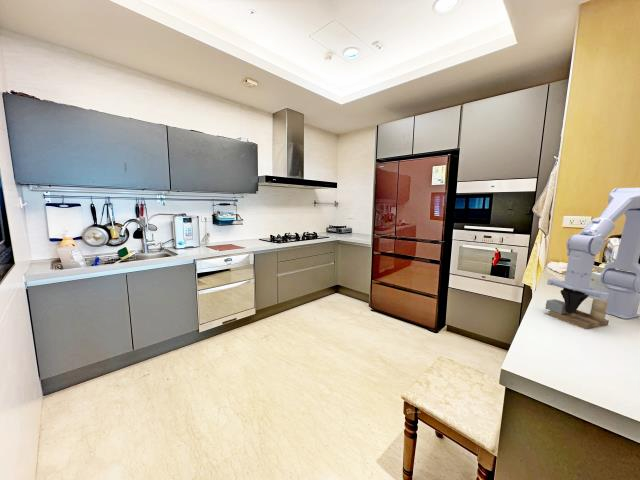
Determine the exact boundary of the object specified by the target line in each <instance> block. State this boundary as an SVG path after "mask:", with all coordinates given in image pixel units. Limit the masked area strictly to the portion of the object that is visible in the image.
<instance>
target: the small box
mask: <svg viewBox="0 0 640 480" xmlns="http://www.w3.org/2000/svg"><path fill="white" fill-rule="evenodd" d="M600 275H601V272H595V271H592V275H591V280H590V284H589V287H590V288H593V289H596V290H599V291H602V292H605V288H606V287H605V286H603V285H604V284H602V282H601V281H600ZM588 298H591V299H592V300H593V299H598V300H602V299H599V298H597V297H593V296H588Z"/></svg>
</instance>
